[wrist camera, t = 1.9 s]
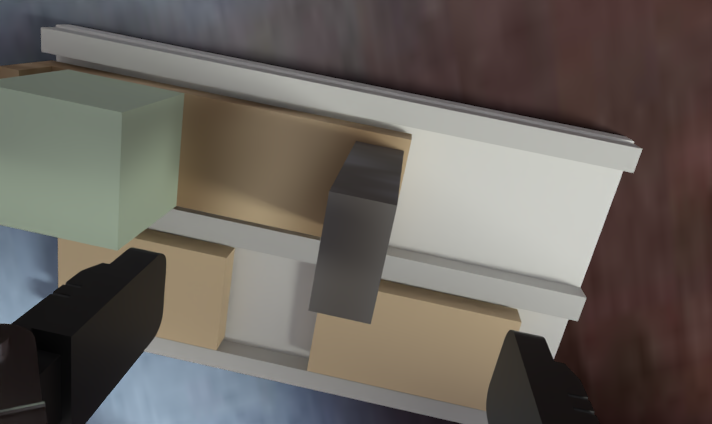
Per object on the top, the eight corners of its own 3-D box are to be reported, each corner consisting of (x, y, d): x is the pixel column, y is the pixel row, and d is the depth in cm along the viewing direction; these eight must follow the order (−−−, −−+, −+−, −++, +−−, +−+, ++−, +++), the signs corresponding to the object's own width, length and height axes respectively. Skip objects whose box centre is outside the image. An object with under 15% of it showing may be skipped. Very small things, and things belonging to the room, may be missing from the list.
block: (184, 93, 22) (122, 112, 18) (176, 205, 24) (117, 250, 19) (68, 69, 23) (-25, 82, 18) (68, 182, 24) (-16, 221, 20)
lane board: (625, 136, 23) (648, 149, 21) (525, 413, 29) (534, 448, 26) (69, 24, 25) (32, 24, 22) (69, 311, 30) (39, 335, 27)
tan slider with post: (412, 134, 23) (407, 190, 15) (388, 240, 25) (374, 339, 17) (51, 60, 24) (-124, 79, 16) (53, 169, 26) (-106, 233, 18)
